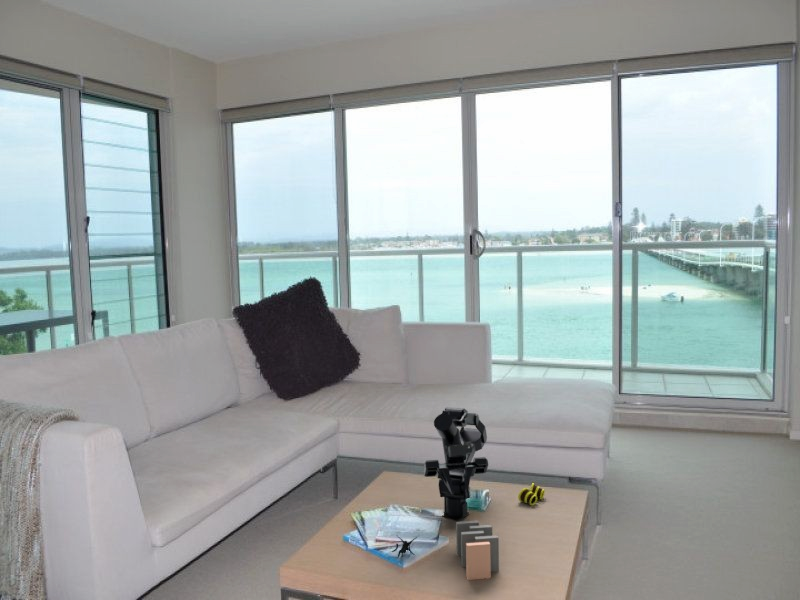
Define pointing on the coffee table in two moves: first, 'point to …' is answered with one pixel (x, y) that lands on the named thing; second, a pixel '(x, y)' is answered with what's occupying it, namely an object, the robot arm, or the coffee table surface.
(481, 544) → the end domino
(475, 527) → the domino
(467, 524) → the domino
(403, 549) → the creature
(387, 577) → the coffee table surface
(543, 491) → the opera glasses
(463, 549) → the domino
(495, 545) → the domino
